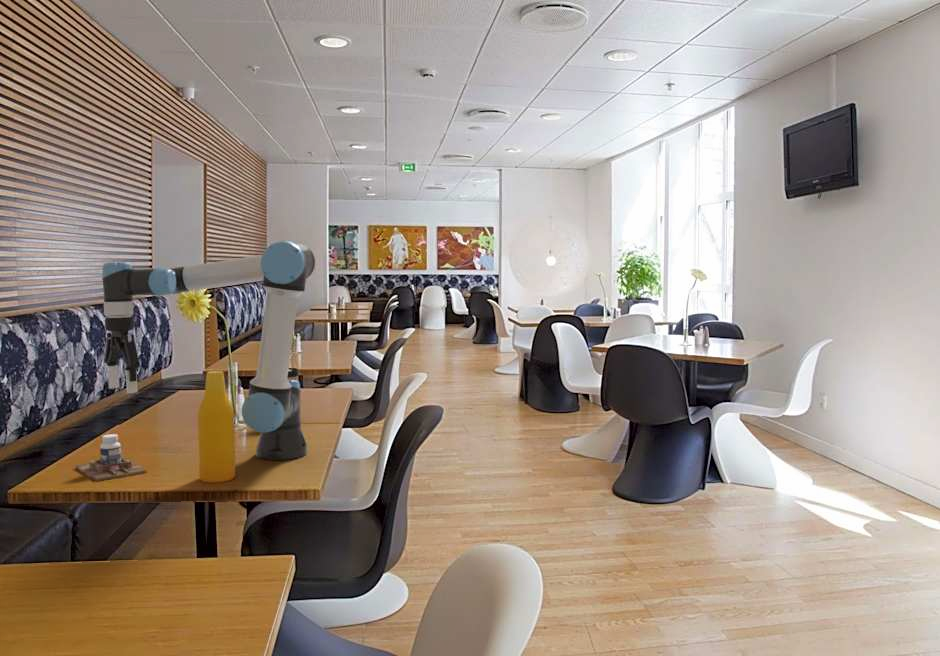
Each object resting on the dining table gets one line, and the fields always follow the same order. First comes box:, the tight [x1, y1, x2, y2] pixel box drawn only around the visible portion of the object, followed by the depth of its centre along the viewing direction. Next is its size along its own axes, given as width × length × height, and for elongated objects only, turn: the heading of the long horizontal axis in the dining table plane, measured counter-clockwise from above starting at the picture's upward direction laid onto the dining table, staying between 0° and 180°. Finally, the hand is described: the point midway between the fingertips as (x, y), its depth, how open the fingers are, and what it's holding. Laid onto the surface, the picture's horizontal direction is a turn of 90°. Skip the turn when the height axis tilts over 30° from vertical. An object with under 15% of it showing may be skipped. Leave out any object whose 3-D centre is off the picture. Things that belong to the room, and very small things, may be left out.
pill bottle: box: [99, 433, 122, 469], centre depth 212 cm, size 5×5×9 cm
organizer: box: [75, 455, 147, 482], centre depth 213 cm, size 18×13×3 cm
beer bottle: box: [197, 370, 236, 484], centre depth 204 cm, size 9×9×29 cm
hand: (123, 390), depth 218 cm, fingers open, 13 cm apart
